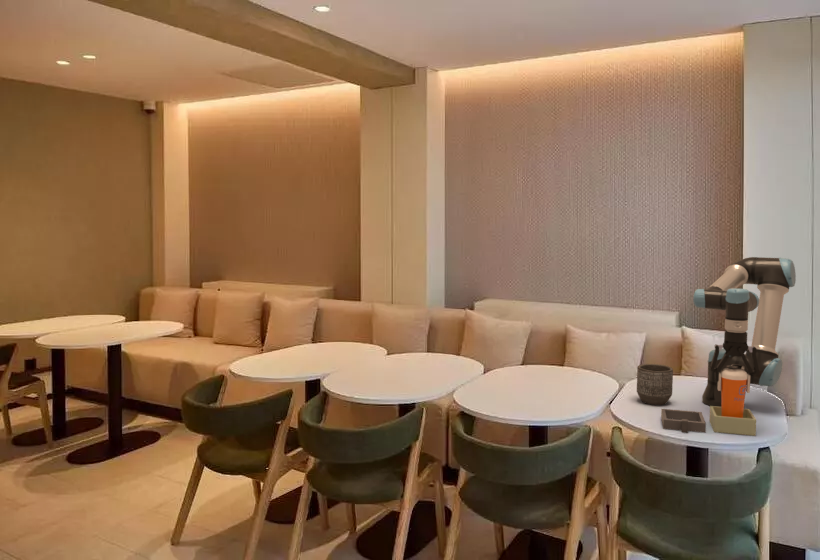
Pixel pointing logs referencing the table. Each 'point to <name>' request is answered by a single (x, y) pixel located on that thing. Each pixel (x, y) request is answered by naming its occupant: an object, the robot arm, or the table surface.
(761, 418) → the table surface
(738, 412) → the shaker bottle
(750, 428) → the sage holder
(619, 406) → the table surface
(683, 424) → the collar
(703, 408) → the table surface
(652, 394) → the planter
